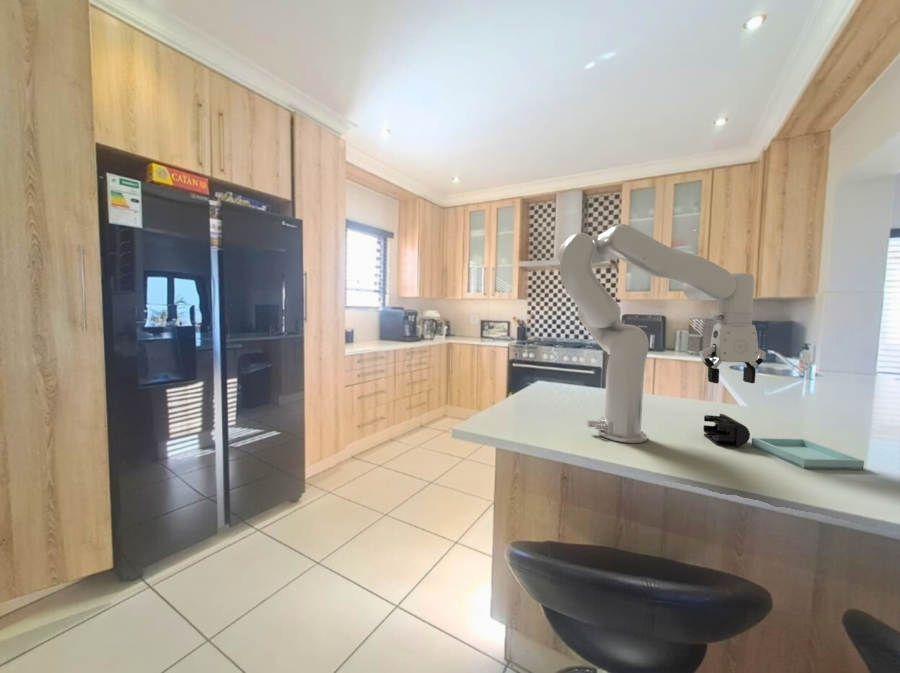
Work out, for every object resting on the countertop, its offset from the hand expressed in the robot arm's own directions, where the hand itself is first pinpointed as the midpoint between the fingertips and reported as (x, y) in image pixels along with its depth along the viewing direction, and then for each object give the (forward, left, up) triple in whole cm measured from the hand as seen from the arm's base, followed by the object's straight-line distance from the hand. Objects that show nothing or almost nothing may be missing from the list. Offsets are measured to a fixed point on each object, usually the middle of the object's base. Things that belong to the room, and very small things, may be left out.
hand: (731, 382), depth 100 cm
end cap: (-1, 0, -17) cm, 17 cm away
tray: (+11, -10, -17) cm, 22 cm away
